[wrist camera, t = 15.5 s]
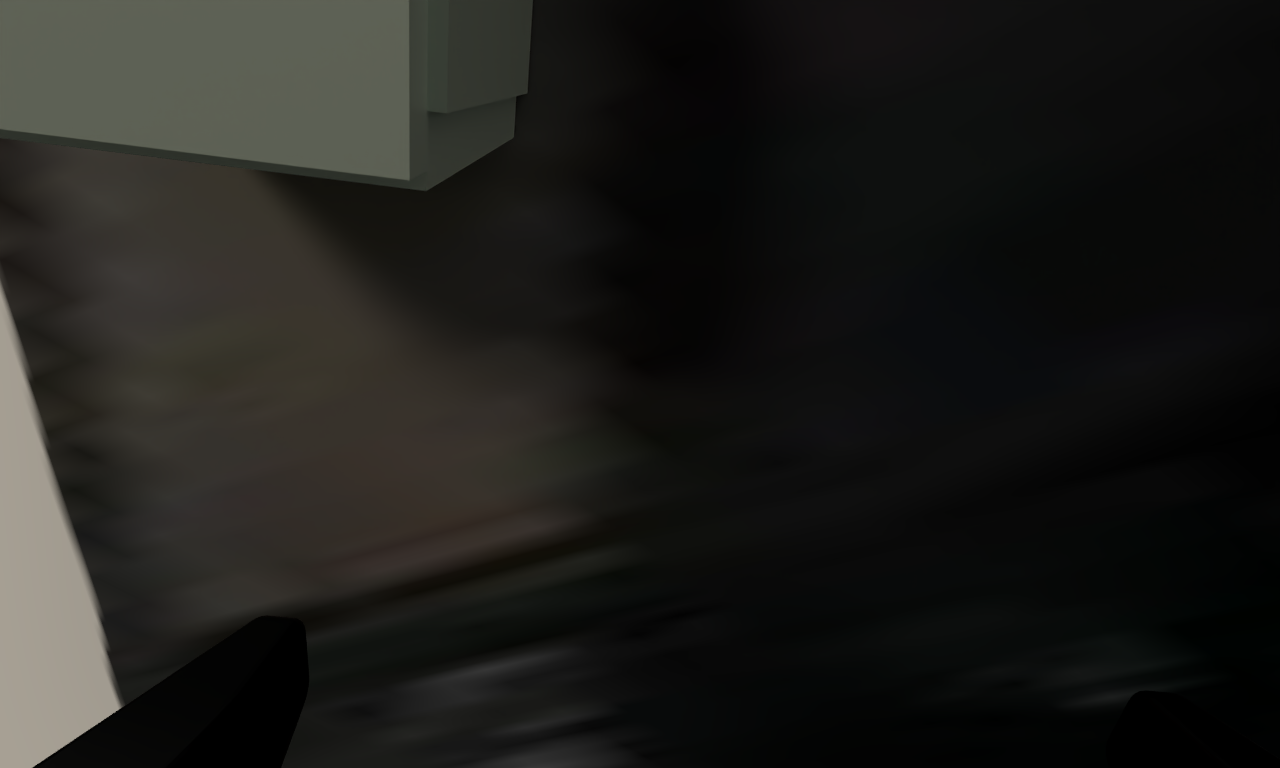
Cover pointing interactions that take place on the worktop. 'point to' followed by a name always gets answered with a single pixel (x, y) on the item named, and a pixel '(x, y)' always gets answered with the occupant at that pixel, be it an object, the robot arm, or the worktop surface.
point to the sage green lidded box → (270, 82)
